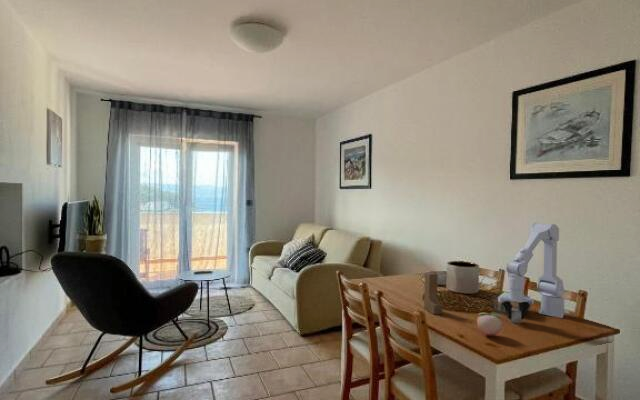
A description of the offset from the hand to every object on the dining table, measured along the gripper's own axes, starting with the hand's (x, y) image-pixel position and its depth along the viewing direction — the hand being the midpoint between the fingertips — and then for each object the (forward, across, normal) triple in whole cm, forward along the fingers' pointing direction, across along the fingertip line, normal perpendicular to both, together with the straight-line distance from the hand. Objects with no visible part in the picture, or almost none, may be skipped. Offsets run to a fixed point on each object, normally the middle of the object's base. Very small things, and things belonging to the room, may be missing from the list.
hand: (515, 318), depth 158 cm
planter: (+2, +7, -49) cm, 50 cm away
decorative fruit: (+2, +18, +18) cm, 25 cm away
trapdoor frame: (+1, -5, -15) cm, 16 cm away
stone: (+1, 0, 0) cm, 1 cm away
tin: (+2, +18, -60) cm, 63 cm away
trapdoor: (-1, -6, -14) cm, 15 cm away
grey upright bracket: (+2, +34, -10) cm, 35 cm away
